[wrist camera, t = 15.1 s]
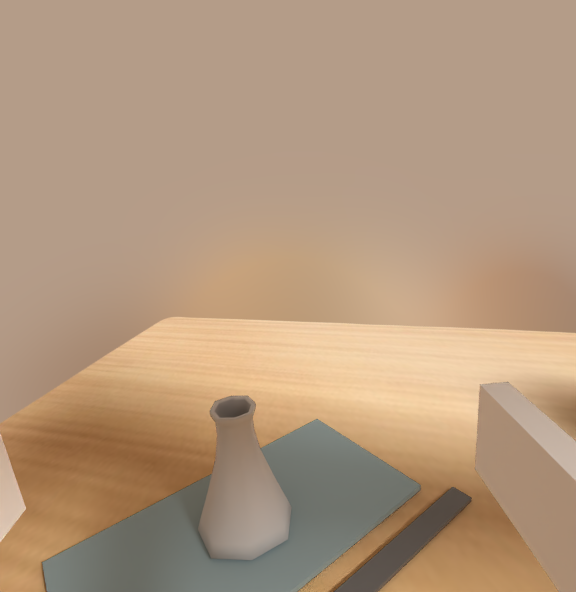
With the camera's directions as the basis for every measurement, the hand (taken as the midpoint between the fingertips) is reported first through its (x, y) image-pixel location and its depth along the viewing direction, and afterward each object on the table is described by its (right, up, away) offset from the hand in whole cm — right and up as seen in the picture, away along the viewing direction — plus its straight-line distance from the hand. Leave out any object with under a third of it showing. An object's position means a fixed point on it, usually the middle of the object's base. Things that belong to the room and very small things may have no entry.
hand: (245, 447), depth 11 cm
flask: (-2, -13, +19) cm, 24 cm away
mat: (-2, -14, +19) cm, 24 cm away
